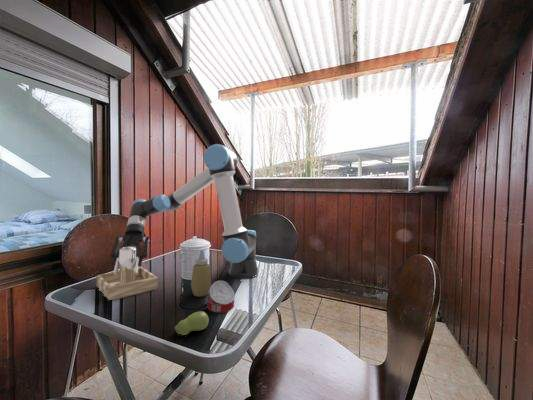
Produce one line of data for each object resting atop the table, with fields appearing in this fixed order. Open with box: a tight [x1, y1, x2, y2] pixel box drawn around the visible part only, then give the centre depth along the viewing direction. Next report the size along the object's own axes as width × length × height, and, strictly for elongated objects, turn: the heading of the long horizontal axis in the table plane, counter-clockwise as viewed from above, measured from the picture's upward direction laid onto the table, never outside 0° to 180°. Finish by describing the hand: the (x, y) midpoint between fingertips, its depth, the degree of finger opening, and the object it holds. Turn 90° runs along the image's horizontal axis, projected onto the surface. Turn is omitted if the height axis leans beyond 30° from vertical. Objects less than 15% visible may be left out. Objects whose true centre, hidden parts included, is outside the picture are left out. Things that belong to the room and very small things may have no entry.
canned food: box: [206, 279, 236, 313], centre depth 92 cm, size 11×10×10 cm
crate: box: [96, 266, 159, 302], centre depth 105 cm, size 18×18×5 cm
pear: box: [174, 310, 210, 336], centre depth 75 cm, size 6×5×10 cm
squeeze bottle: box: [190, 249, 212, 298], centre depth 101 cm, size 8×8×18 cm
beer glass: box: [118, 246, 138, 285], centre depth 104 cm, size 7×7×15 cm
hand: (125, 273), depth 101 cm, fingers open, 7 cm apart
